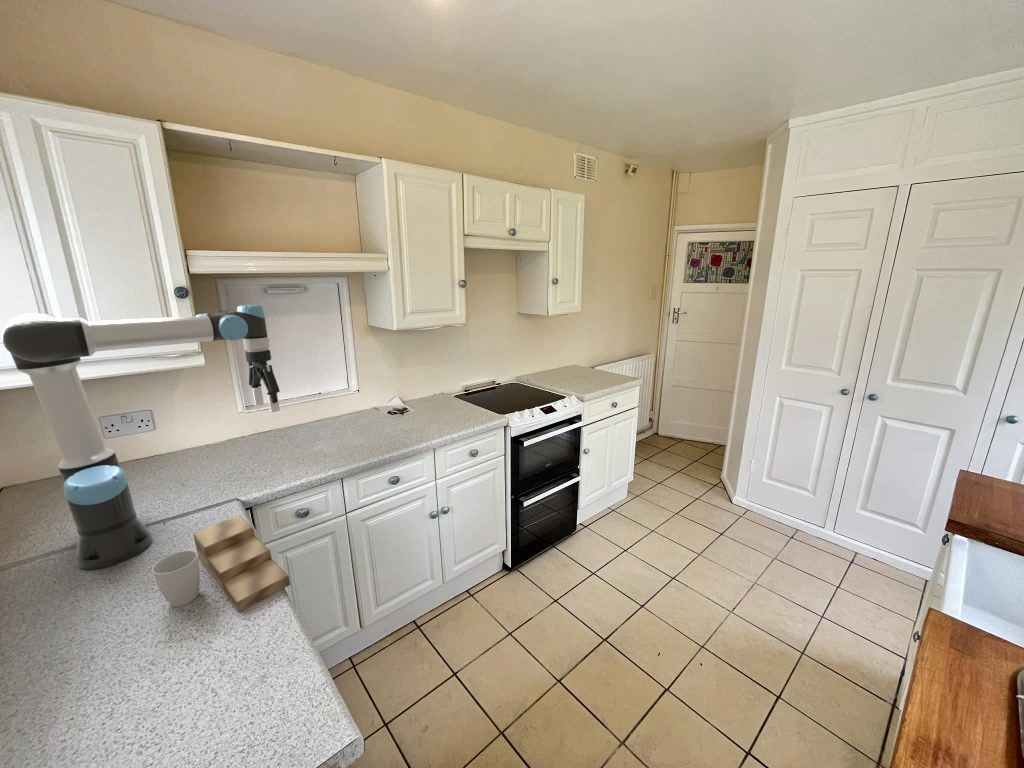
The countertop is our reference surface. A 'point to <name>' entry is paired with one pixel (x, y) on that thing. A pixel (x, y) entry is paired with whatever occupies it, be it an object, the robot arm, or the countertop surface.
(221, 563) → the riser
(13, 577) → the countertop surface
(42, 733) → the countertop surface
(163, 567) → the cup
